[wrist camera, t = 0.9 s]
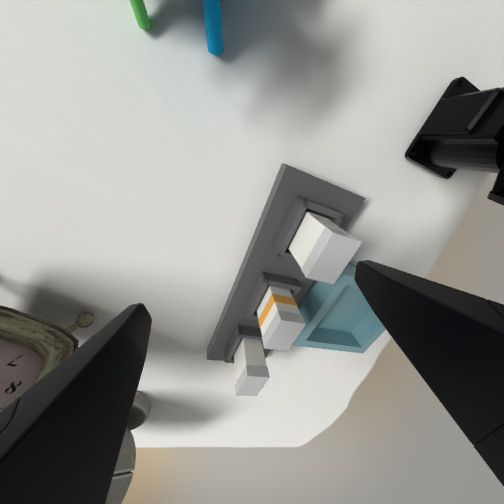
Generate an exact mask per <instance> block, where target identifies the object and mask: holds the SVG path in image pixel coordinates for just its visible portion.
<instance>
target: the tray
mask: <svg viewBox="0 0 504 504" xmlns="http://www.w3.org/2000/svg"><path fill="white" fill-rule="evenodd" d="M355 271H356V266H355V265H352V264H347V266H346V267H345V268H344V270H343V271H342V273H341V274H340V276H339V277H338V279H337V280H336V282H335V283H334V284H330V283H326V282H321V281H317V280H314V282H313V283H312V285H311V287H310V288H309V290H308V291H307V293H306V295H305V296H304V298H303V299H302V301H301V303H300V304H299V306H298V309H299V312H300V314H302V316H303V318H304V321H305V323H306V325H305V327H304V328H303V329H302V331H301V332H300V334H299V335H298V337H297V338H296V340H295V341H294V342H293V343H294V345H296V346H304V347H313V348H322V349H330V350H339V351H348V352H356V353H364V351H365V350H366V349H367V348H368V347H369V346H370V345H371V344H372V343H373V342H374V341H375V340H376V339H377V338H378V337H379V336H380V335H381V334H382V333H383V332H384V331H385V330H386V328H385V327H384V326H383V324H382V323H381V322H380V320H379V319H378V318H377V316H376V315H375V313H374V312H373V310H372V309H371V307H370V306H369V304H368V302H367V301H366V299H365V297H364V296H363V294H362V292H361V291H360V289H359V287H358V286H357V284H356V282H355V278H354V277H355Z"/></svg>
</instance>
